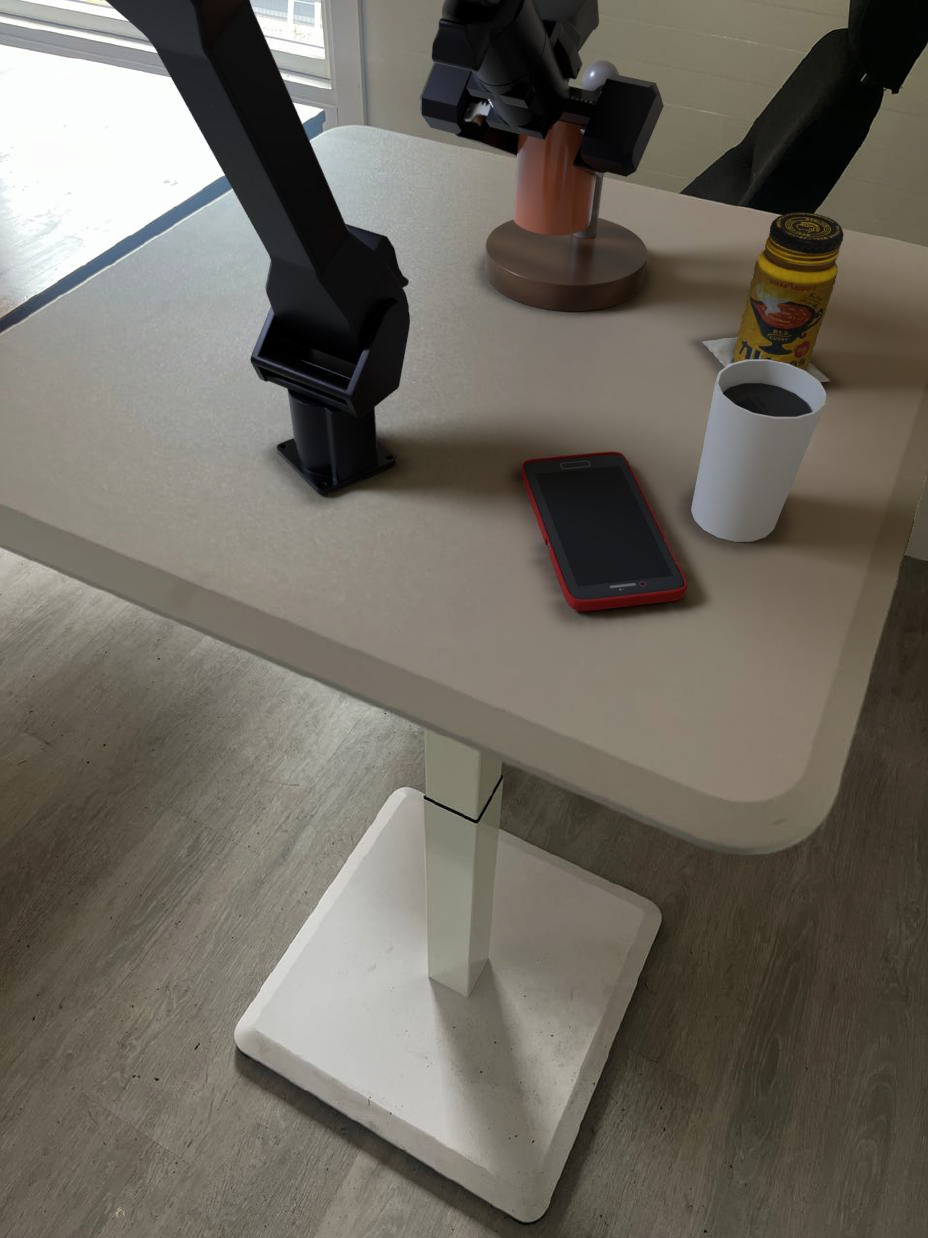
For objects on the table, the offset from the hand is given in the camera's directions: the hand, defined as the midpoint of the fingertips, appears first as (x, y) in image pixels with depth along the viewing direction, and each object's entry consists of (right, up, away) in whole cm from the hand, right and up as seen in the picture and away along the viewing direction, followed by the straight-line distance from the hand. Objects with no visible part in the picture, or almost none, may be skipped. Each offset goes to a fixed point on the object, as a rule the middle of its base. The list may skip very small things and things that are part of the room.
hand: (564, 162), depth 80 cm
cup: (-1, -4, +2) cm, 5 cm away
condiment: (+16, -18, -1) cm, 24 cm away
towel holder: (+1, -6, +9) cm, 11 cm away
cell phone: (0, -33, -17) cm, 37 cm away
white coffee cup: (+10, -32, -15) cm, 37 cm away
